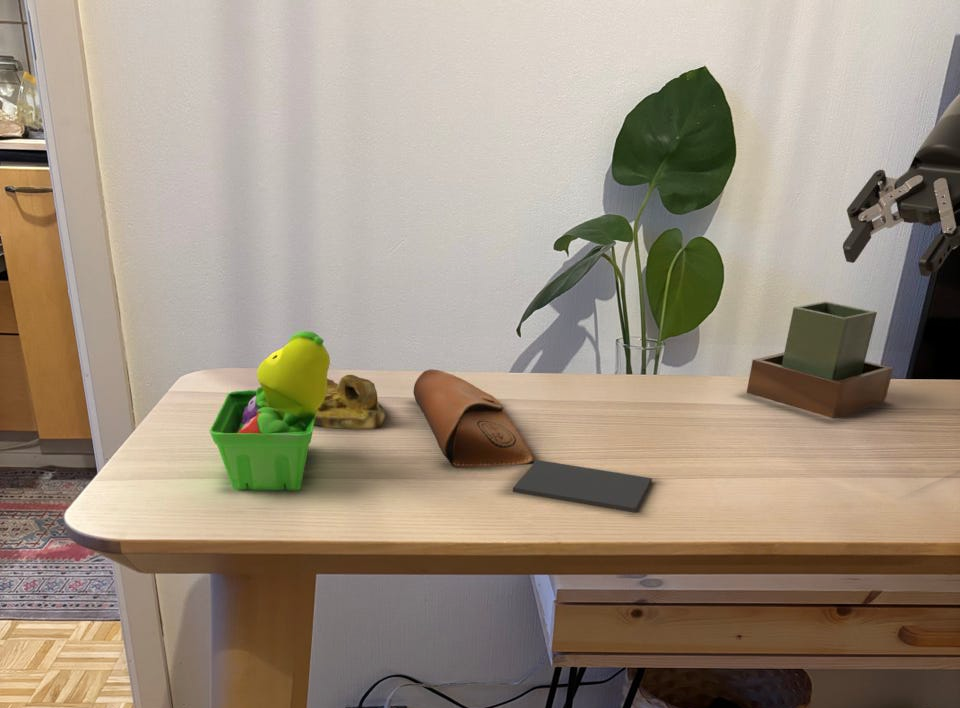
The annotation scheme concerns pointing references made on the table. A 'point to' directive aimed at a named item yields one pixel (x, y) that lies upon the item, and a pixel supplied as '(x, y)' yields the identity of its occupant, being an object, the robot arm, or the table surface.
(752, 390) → the brown open box
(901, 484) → the table surface
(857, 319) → the green square pen holder
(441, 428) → the sunglasses case
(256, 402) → the fruit basket
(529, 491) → the felt mat
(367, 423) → the tan lumpy piece
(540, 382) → the table surface
